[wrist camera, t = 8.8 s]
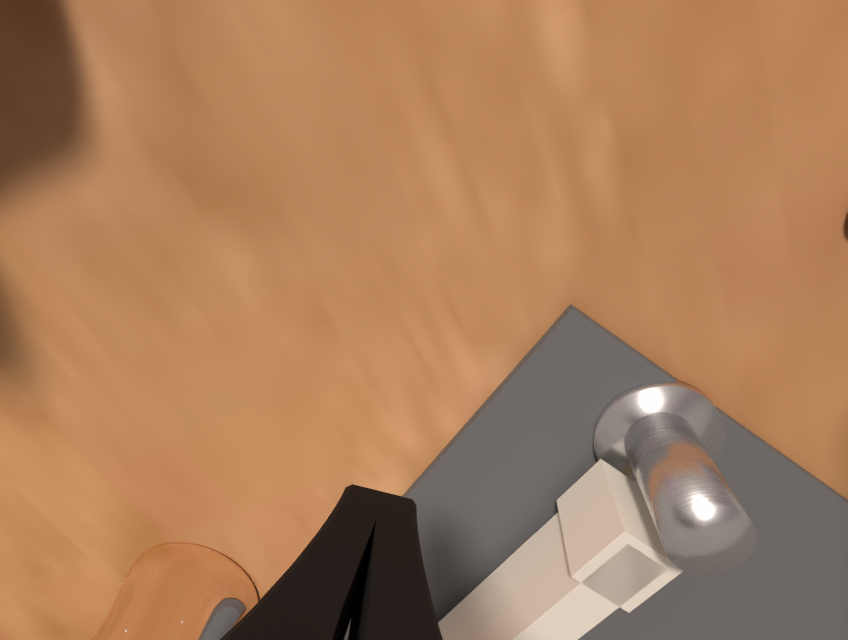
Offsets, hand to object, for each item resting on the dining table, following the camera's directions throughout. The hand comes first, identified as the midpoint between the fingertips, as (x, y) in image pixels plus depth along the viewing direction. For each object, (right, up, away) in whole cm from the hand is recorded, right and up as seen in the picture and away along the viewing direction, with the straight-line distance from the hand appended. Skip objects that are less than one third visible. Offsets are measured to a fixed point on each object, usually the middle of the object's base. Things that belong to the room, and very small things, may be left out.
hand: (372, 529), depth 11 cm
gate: (+4, -6, +11) cm, 14 cm away
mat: (+9, -8, +13) cm, 18 cm away
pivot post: (+9, 0, +9) cm, 13 cm away
